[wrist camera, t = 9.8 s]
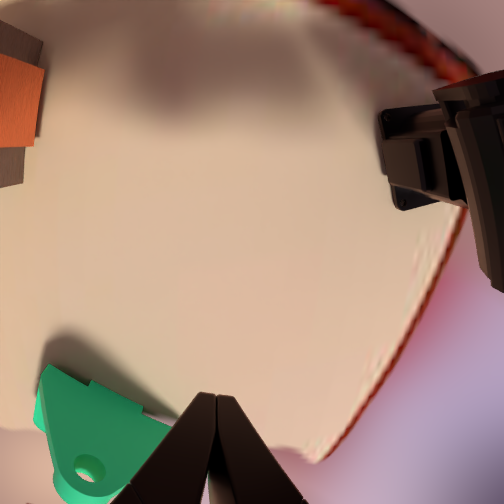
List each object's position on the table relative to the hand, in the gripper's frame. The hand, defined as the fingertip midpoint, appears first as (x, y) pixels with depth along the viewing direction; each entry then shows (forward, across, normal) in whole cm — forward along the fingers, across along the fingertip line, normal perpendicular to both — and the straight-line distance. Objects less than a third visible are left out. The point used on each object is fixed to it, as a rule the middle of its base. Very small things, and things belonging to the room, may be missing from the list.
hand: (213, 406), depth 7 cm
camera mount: (+13, +8, +17) cm, 23 cm away
